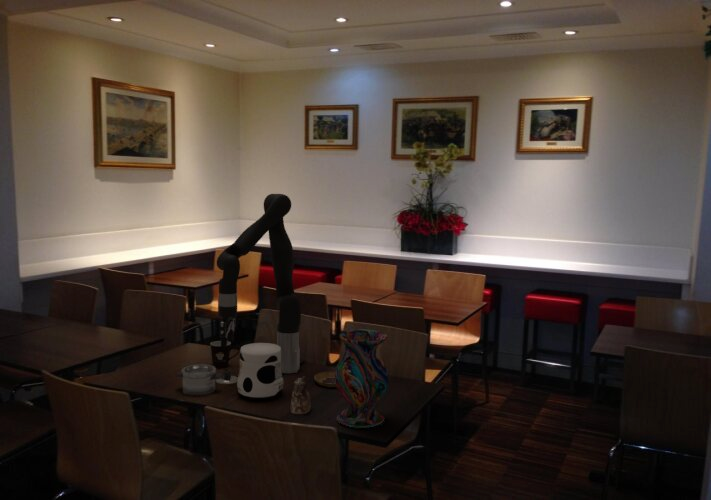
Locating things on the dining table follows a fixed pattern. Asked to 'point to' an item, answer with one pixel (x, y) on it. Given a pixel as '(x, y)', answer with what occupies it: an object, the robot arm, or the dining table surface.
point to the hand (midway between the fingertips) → (227, 343)
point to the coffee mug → (221, 354)
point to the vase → (361, 377)
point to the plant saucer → (323, 376)
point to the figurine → (300, 397)
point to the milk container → (260, 371)
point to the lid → (227, 378)
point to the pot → (199, 379)
